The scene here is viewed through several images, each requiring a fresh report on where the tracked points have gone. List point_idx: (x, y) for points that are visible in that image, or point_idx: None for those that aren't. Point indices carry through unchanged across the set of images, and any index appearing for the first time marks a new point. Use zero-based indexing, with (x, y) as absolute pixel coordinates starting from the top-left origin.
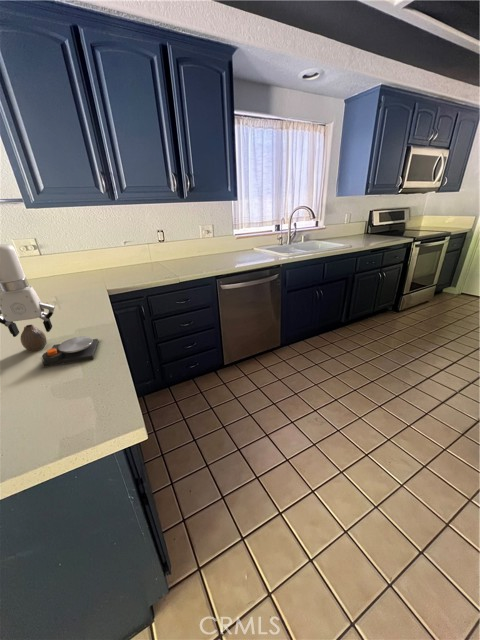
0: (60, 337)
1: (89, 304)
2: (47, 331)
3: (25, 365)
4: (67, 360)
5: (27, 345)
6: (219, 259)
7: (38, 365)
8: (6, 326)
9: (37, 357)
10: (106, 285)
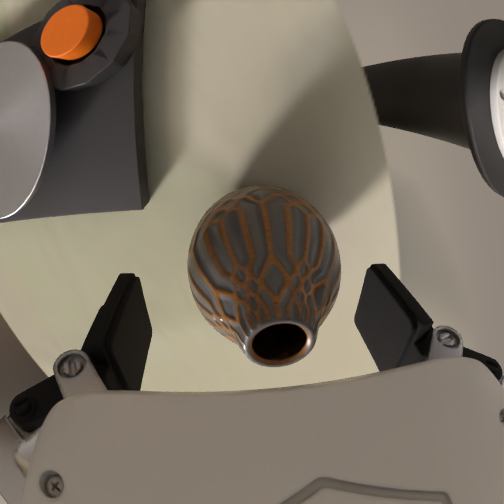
0: (174, 318)
1: None
2: (128, 274)
3: (258, 35)
4: (35, 26)
5: (284, 191)
6: None
7: (181, 16)
8: (446, 326)
9: (217, 109)
10: None
